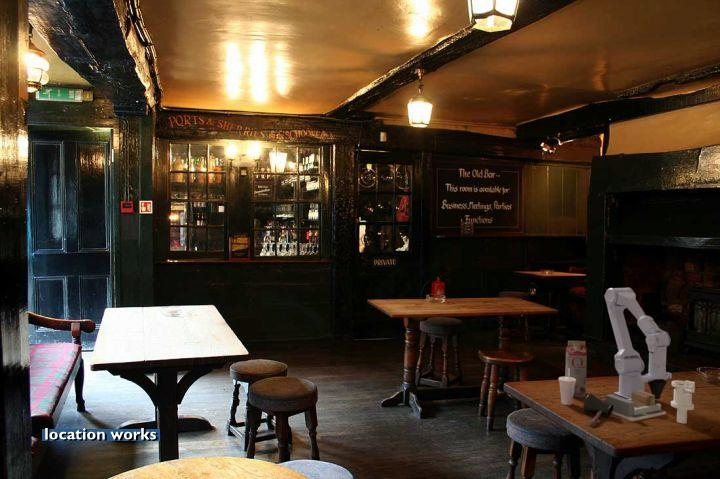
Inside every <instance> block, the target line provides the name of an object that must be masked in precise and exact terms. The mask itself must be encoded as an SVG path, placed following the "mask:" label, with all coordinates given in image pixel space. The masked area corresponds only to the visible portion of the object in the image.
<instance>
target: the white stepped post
mask: <svg viewBox="0 0 720 479" xmlns="http://www.w3.org/2000/svg"><path fill="white" fill-rule="evenodd" d="M695 383H696V382H695V381H691V380H671V386H672V387H674V389H673V400H671V401H670V406H671V407H672V408H674V409H676V423H679V424H683V425H684V424H687V423H688V422H687V421H688V411H693V410H695V405H694V404H693V401H692V400H693V399H692V398H693V394H694V393H695V390H696V389H695V388H696V386H695V385H696V384H695Z"/></svg>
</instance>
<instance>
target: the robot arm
mask: <svg viewBox="0 0 720 479" xmlns="http://www.w3.org/2000/svg"><path fill="white" fill-rule="evenodd" d="M604 299H605V302H606V307H607V312H608V315H609V319H610V323H611V327H612V330H613V334H614V338H615V342H616V345H617V350H618V351H617V353H616V354H614V368H615V370H616V371H617V374H618V375H619V376H618V377H619V378H618V391H615V392H613V395H615V396H618V397H621V398H624V399H631V394H632V392H636V391H643V392H645V383H647V385H648V387H649V388H650V389H649V390H650V392H651V393H650V394H652V395H655V400H660V399H661V396H662V394H663V390H664V388H665V387H666V385H667V384H668V381H667V380H668V379H672V376H673V375H672V373H671V372H668V371H666V370H667V368H666V366H667V347H669V346H670V344H671V337H670V335H669V333H668V332H667V331H664V330H663V329H661V328H660V327H659V326H658V325H657V323H656V322H655V321H654V318H653V317H651V316H650V315H646V314H645V311H644V310H643V308H642V307H641V306H640V304H639V302H638V301H637V299H636V293H635V292H634V290H633V289H632V288H631V287H615V288H614V287H609V288H608V289H606V292H605V294H604ZM625 309H627V310H628V311H630V313H631V314H632V315H633V316H634V317H635V318H636V320H637V321H636V322H637V323H636V325H637V326H638V327H639V329H640V330H641V331H642V334H644V335H645V337H646V338H645V343H646V344H647V350H648V352H649V353H648V372H647V373H645V374H644V375H642V372H644V370H645V363H644V361H643V359H642V358H641V356H640V353H639V352H638V351H637V350H635V349H634V348H633V344H632V341H631V337H630V333H629V328H628V327H627V323H626V318H625V315H624V310H625Z"/></svg>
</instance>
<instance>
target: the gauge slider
mask: <svg viewBox="0 0 720 479" xmlns="http://www.w3.org/2000/svg"><path fill="white" fill-rule="evenodd" d="M655 400H656V399H655V395H652V393H649V392H646V391H644V392H643V391H636V392H632V394H631V401H633V402H635V407H637V408H639V407H644V406H649V405H654V406H657V407H658V406H659V405H656V404H657V403H656V402H655Z"/></svg>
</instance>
